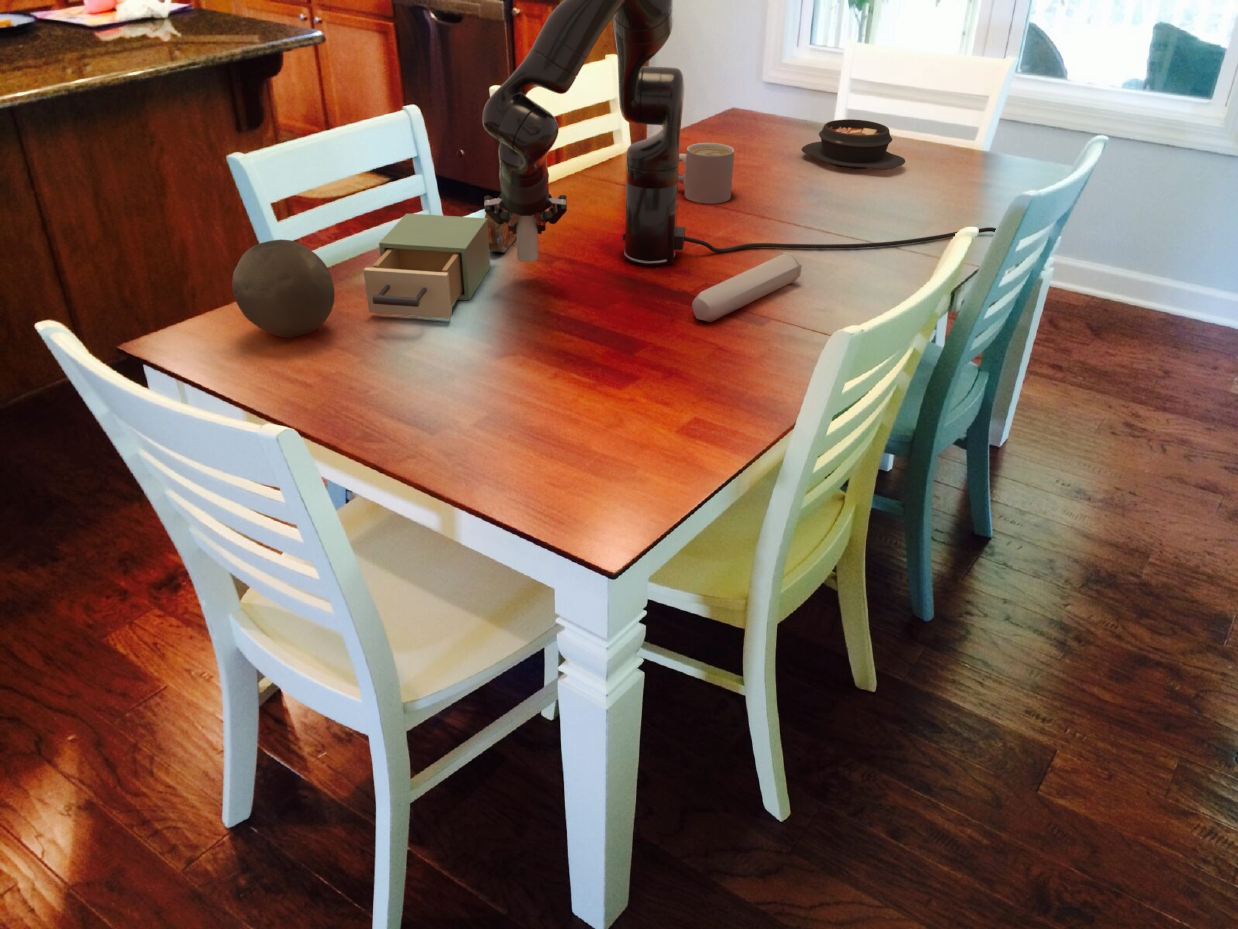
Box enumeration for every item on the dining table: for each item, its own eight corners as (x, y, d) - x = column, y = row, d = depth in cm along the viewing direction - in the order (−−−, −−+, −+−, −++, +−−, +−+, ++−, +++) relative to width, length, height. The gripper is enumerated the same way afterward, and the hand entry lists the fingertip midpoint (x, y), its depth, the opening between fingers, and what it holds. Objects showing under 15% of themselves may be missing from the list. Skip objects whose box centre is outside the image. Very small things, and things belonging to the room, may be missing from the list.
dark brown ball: (263, 315, 159) (245, 225, 151) (350, 318, 159) (337, 227, 151) (231, 355, 147) (210, 260, 139) (325, 358, 147) (310, 263, 139)
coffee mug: (738, 194, 214) (742, 147, 208) (716, 206, 207) (720, 158, 201) (684, 183, 220) (687, 137, 214) (662, 194, 213) (663, 147, 207)
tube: (715, 307, 155) (806, 263, 170) (691, 287, 157) (783, 246, 172) (705, 333, 159) (795, 287, 174) (681, 313, 161) (772, 270, 176)
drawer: (440, 334, 152) (436, 289, 148) (356, 327, 154) (350, 283, 150) (472, 285, 168) (469, 244, 164) (395, 280, 170) (391, 239, 166)
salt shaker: (540, 254, 171) (538, 198, 166) (536, 262, 168) (534, 205, 163) (520, 253, 172) (517, 197, 166) (515, 261, 169) (512, 204, 163)
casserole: (785, 161, 235) (789, 124, 231) (824, 145, 247) (828, 110, 243) (881, 183, 222) (887, 145, 218) (917, 164, 234) (924, 128, 230)
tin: (499, 259, 181) (497, 214, 176) (483, 257, 181) (480, 212, 177) (522, 231, 193) (521, 188, 188) (507, 229, 194) (505, 187, 189)
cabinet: (469, 300, 165) (465, 248, 160) (385, 294, 167) (378, 242, 162) (490, 267, 177) (487, 218, 172) (411, 262, 179) (406, 213, 174)
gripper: (478, 204, 151) (486, 250, 168) (570, 203, 152) (569, 248, 169) (477, 158, 153) (485, 209, 169) (569, 158, 154) (567, 208, 170)
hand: (527, 228), depth 169 cm, fingers closed on salt shaker, 3 cm apart
